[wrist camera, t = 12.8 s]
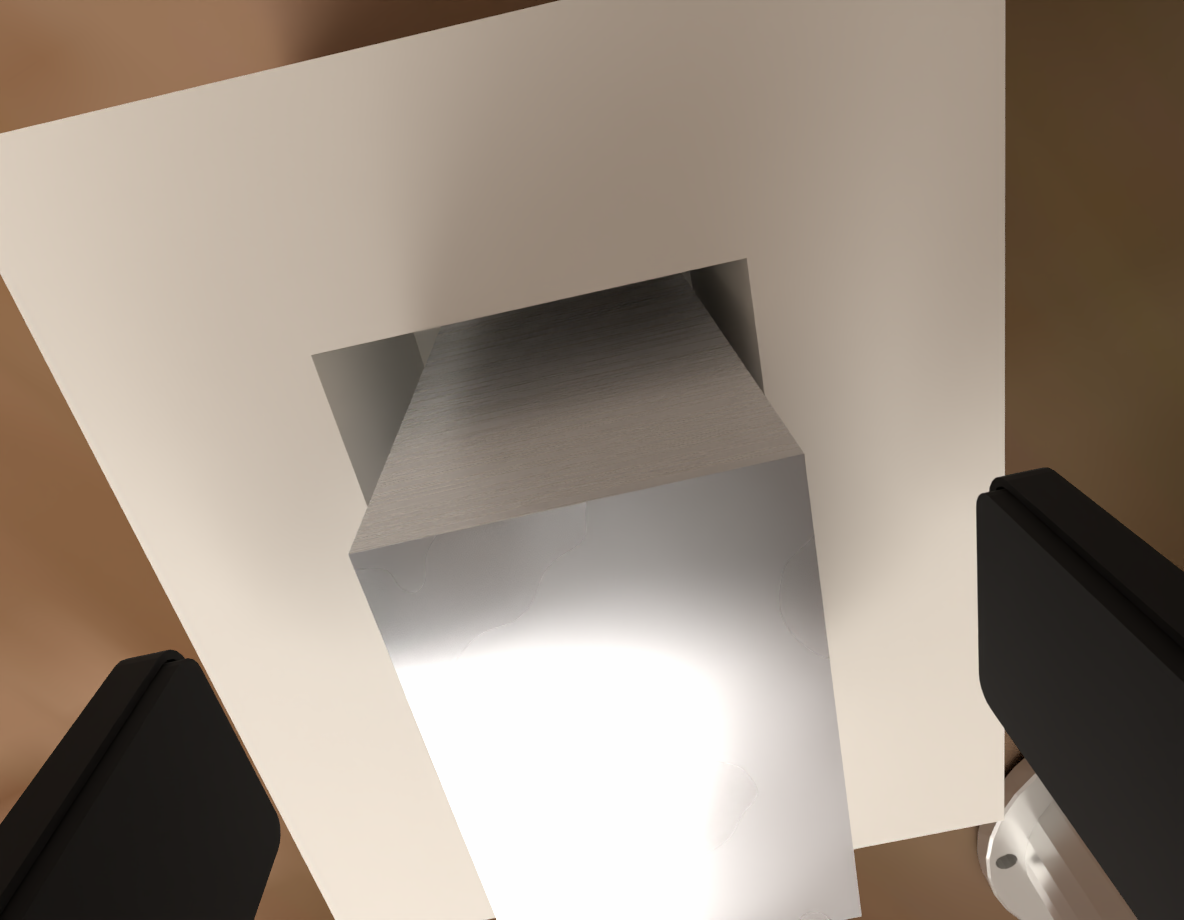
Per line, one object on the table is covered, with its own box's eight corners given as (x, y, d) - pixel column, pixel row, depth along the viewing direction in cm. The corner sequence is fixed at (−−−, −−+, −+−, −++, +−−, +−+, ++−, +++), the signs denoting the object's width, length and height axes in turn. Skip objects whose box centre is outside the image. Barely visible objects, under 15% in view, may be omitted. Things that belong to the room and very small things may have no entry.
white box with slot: (734, -2, 22) (1005, -107, 9) (791, 474, 27) (1004, 820, 15) (286, 104, 22) (-65, 149, 9) (437, 549, 28) (348, 946, 15)
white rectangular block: (658, 238, 16) (804, 454, 7) (707, 505, 19) (861, 916, 10) (458, 286, 16) (348, 554, 7) (533, 543, 19) (521, 982, 10)
